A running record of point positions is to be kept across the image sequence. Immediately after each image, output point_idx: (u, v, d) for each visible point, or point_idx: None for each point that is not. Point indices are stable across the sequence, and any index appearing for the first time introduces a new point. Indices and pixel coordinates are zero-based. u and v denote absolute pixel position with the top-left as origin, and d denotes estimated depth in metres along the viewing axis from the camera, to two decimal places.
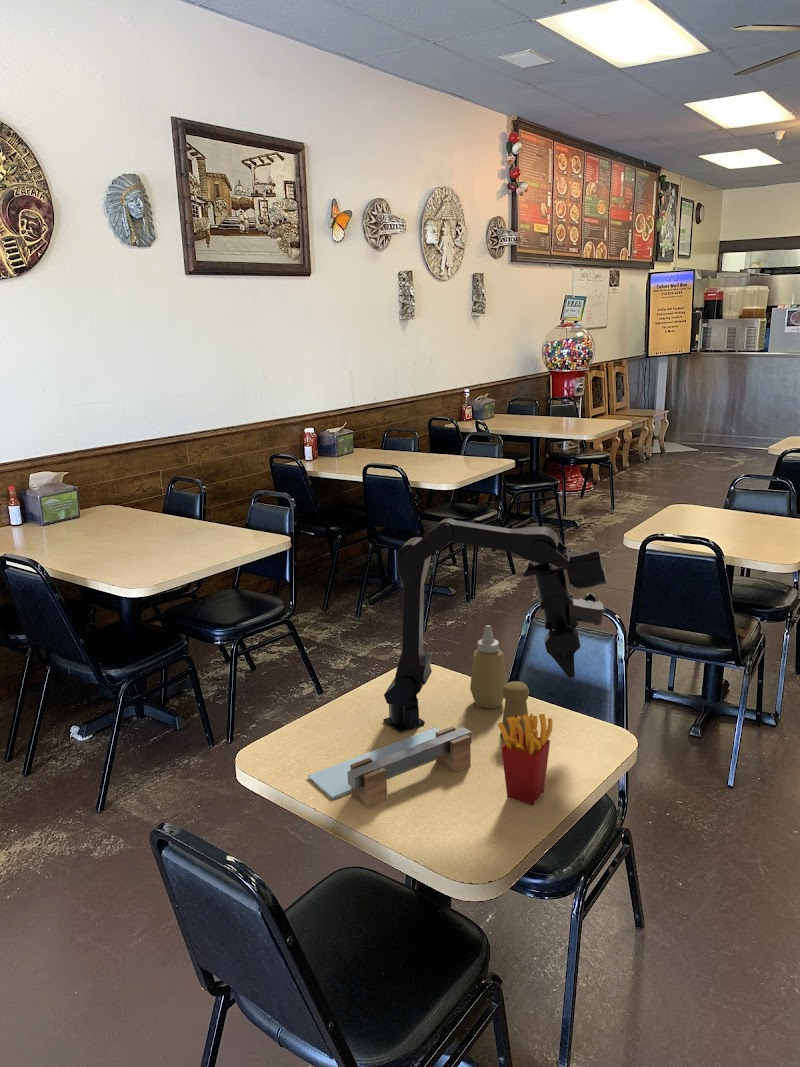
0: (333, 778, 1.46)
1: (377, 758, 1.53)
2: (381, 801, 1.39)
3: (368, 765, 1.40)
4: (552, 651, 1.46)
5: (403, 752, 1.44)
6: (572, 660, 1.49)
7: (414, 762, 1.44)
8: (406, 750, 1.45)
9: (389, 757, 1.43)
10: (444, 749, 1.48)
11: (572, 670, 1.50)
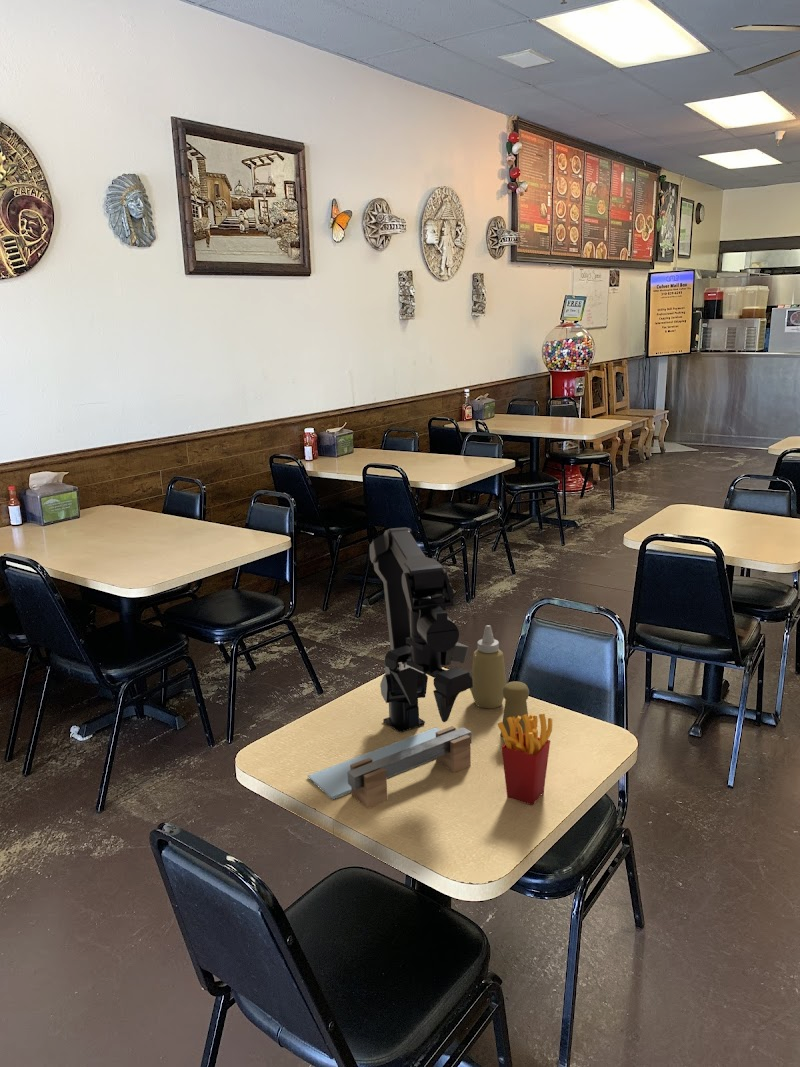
0: (333, 778, 1.46)
1: (377, 758, 1.53)
2: (381, 801, 1.39)
3: (368, 765, 1.40)
4: (453, 693, 1.37)
5: (403, 752, 1.44)
6: (453, 702, 1.42)
7: (414, 762, 1.44)
8: (406, 750, 1.45)
9: (389, 757, 1.43)
10: (444, 749, 1.48)
11: (449, 713, 1.43)
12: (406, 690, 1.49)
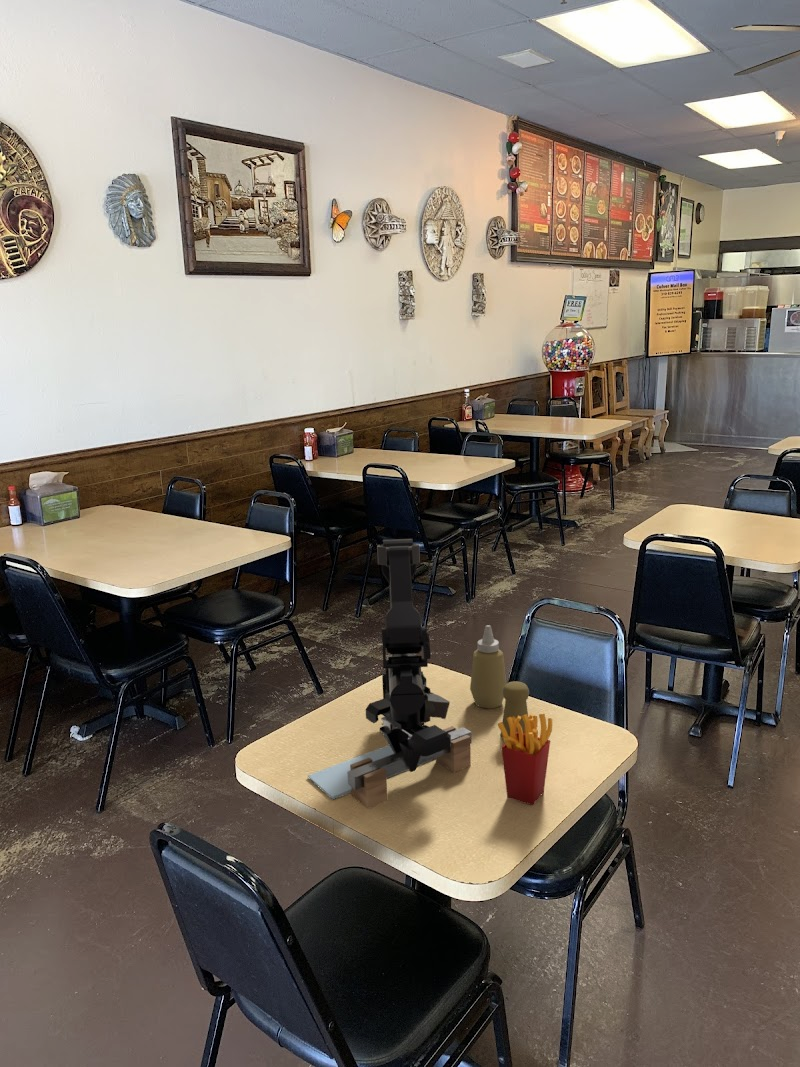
0: (333, 778, 1.46)
1: (377, 758, 1.53)
2: (381, 801, 1.39)
3: (368, 765, 1.40)
4: (429, 754, 1.35)
5: None
6: None
7: None
8: None
9: (389, 757, 1.43)
10: None
11: (416, 763, 1.43)
12: (396, 751, 1.45)
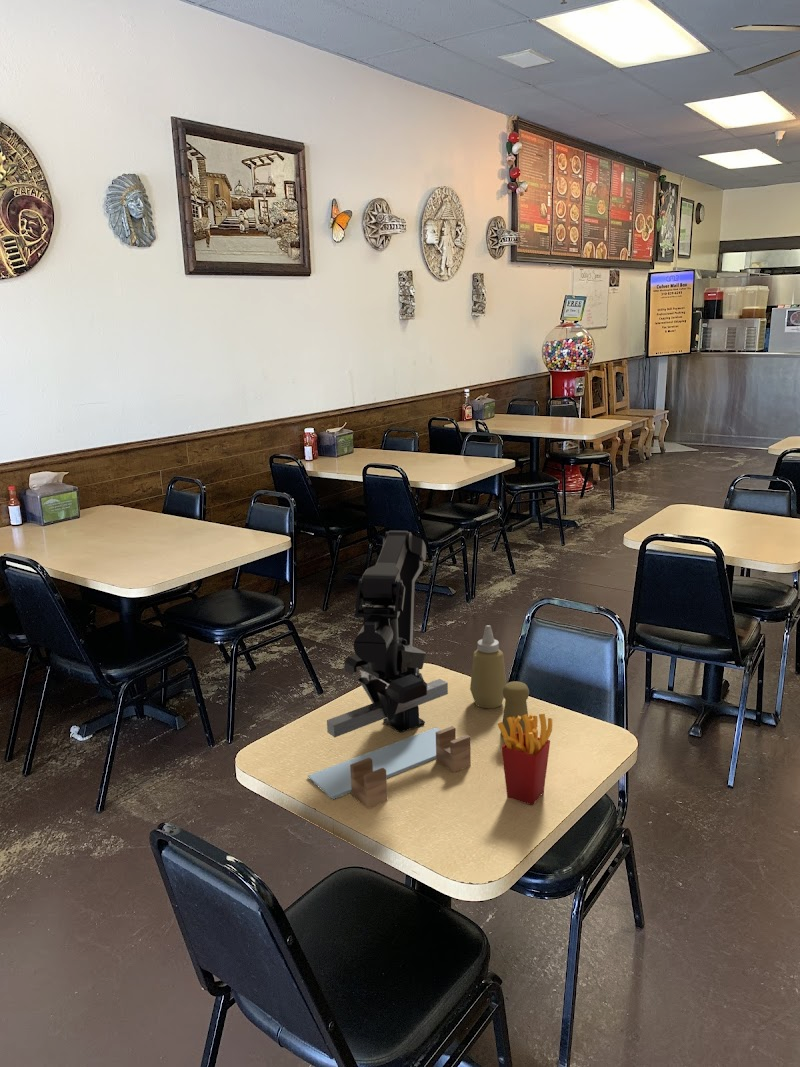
0: (333, 778, 1.46)
1: (377, 758, 1.53)
2: (381, 801, 1.39)
3: (347, 714, 1.44)
4: (406, 701, 1.39)
5: None
6: (398, 702, 1.46)
7: None
8: None
9: (367, 706, 1.47)
10: (421, 699, 1.52)
11: (394, 712, 1.47)
12: (374, 701, 1.49)
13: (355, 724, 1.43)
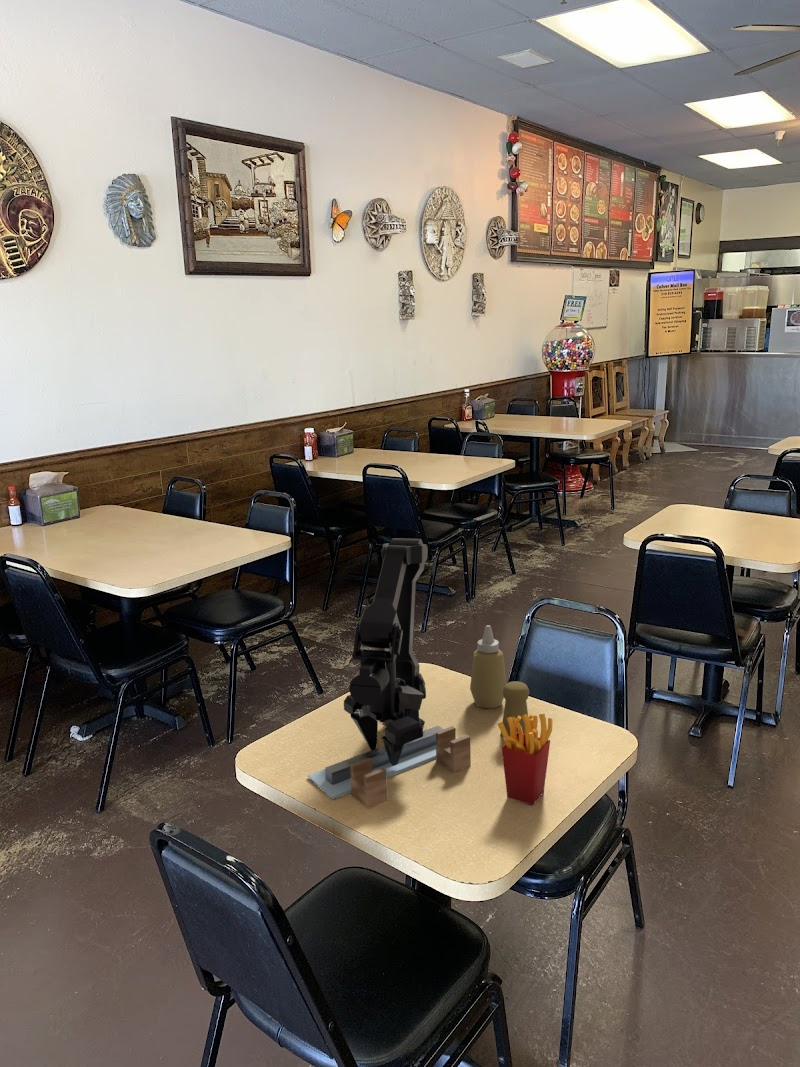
0: None
1: None
2: (381, 801, 1.39)
3: (345, 761, 1.47)
4: (402, 743, 1.41)
5: (379, 749, 1.51)
6: (402, 747, 1.47)
7: None
8: (382, 747, 1.52)
9: (365, 754, 1.50)
10: (419, 746, 1.55)
11: (398, 757, 1.48)
12: (366, 736, 1.53)
13: None
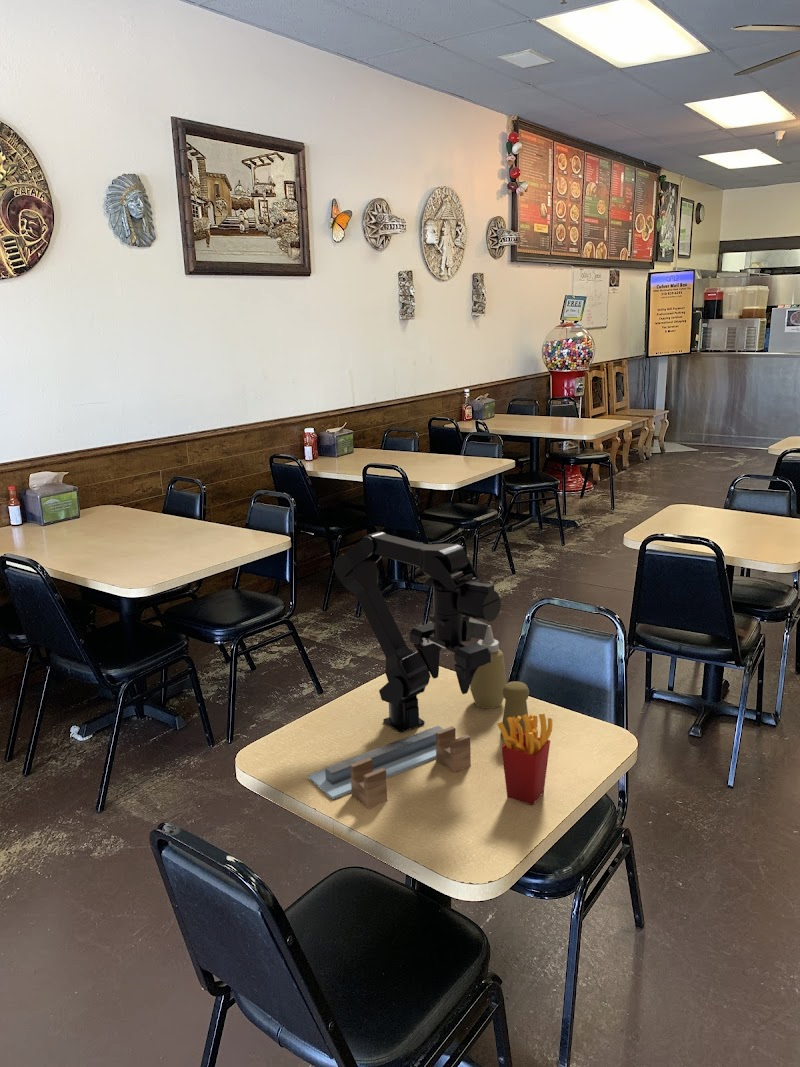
0: None
1: None
2: (381, 801, 1.39)
3: (345, 761, 1.47)
4: (472, 667, 1.47)
5: (379, 749, 1.51)
6: (472, 675, 1.52)
7: (389, 759, 1.51)
8: (382, 747, 1.52)
9: (365, 754, 1.50)
10: (419, 746, 1.55)
11: (468, 686, 1.53)
12: (429, 664, 1.59)
13: None
